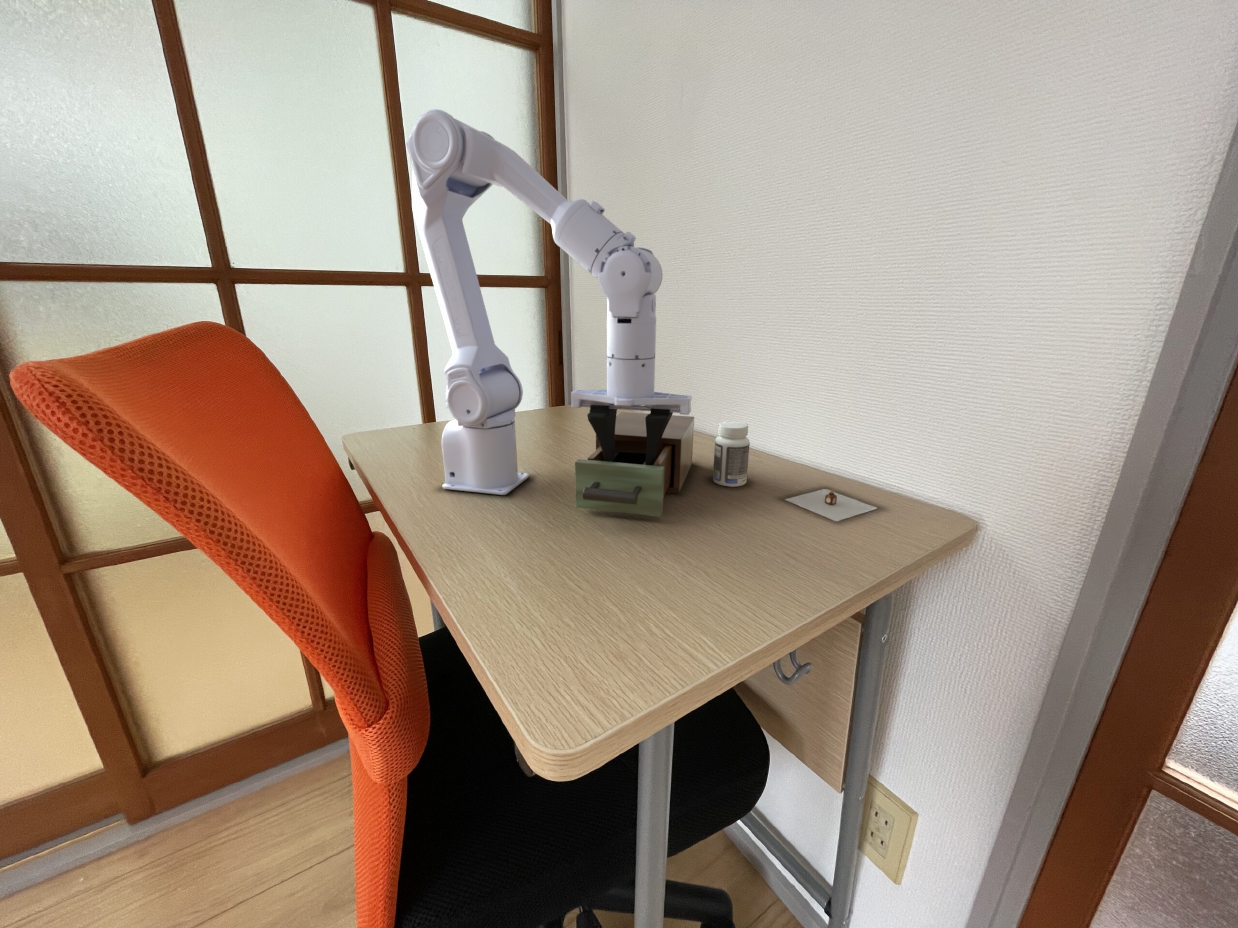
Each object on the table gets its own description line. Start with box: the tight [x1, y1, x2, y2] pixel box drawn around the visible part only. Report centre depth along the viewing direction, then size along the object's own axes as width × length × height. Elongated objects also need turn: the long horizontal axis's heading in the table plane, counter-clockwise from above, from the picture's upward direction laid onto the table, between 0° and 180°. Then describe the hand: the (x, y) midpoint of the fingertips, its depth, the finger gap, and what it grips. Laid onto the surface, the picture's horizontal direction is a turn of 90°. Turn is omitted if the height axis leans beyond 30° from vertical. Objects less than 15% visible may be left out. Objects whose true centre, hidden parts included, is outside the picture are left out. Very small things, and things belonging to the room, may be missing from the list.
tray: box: [609, 451, 646, 465], centre depth 66 cm, size 5×6×3 cm
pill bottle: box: [712, 420, 751, 488], centre depth 74 cm, size 5×5×8 cm
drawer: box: [574, 440, 674, 518], centre depth 65 cm, size 16×10×6 cm, turn 165°
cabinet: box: [595, 411, 695, 495], centre depth 77 cm, size 14×12×8 cm
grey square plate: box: [784, 488, 878, 522], centre depth 67 cm, size 8×8×2 cm
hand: (629, 466), depth 66 cm, fingers closed on tray, 4 cm apart
